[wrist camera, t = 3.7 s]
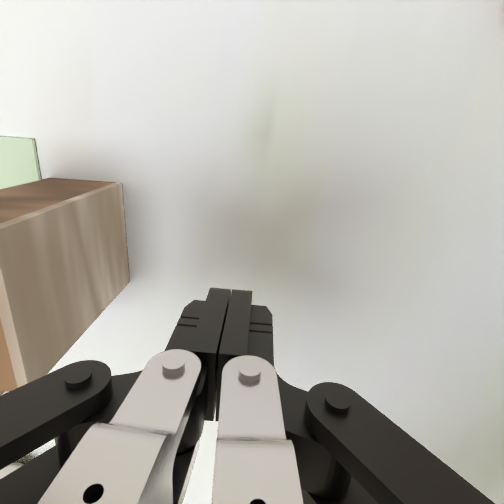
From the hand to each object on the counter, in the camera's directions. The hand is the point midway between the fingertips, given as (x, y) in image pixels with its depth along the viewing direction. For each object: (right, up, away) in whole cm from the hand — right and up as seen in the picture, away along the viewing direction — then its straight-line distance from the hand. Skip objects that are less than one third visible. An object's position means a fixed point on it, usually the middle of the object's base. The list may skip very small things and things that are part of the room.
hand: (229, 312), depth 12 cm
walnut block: (-9, +3, +7) cm, 12 cm away
